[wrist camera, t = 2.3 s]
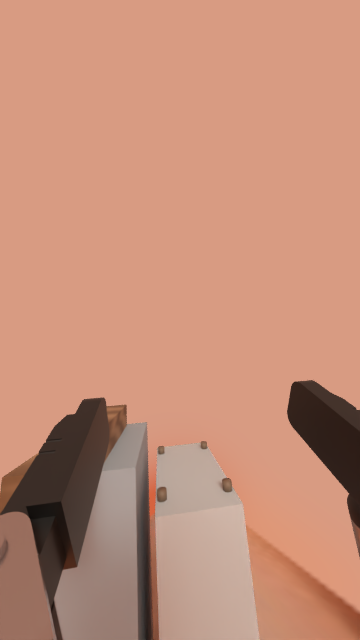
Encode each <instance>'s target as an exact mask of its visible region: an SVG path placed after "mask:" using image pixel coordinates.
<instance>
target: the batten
mask: <svg viewBox="0 0 360 640" xmlns="http://www.w3.org/2000/svg"><path fill="white" fill-rule="evenodd" d="M106 408H107V415H108V423H109V444H108V449H107V453H106V457H105V461H106V459H107V457H108V456H109V454H110V452H111V451H112V449H113V447H114V446H115V444H116V442H117V441H118V439H119V437H120V436H121V434H122V432H123V431H124V429H125V427H126V426H127V424H126V423H127V422H126V421H127V420H126V419H127V418H126V417H127V416H126V405H118V406H107V407H106ZM38 454H39V453H38ZM38 454H36V455H35V456H33V457H32V458H30V459H29V460H28V461H26V462H24V463H23V464H21V465H20V466H19V467H17V468H16V469H14V470H13V471H11V472H10V473H8V474H7V475H5V476H4V477H3V478H2V484H1V492H0V513H1V512H2V510H3V509H4V507H5V506H6V504H7V502H8V501H9V499H10V498H11V496H12V494H13V493H14V491H15V489H16V488H17V486H18V485H19V483H20V481H21V480H22V478H23V477H24V475H25V473H26V472H27V470H28V468H29V467H30V465H31V464H32V462H33V460H34V459H35V457H36V456H37V455H38ZM105 461H104V462H105Z"/></svg>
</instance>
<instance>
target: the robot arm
mask: <svg viewBox="0 0 360 640" xmlns="http://www.w3.org/2000/svg"><path fill="white" fill-rule="evenodd" d="M287 414H288V419H289V421H290V423H291V425H292V427H293V428H294V429H295V430H296V431H297V433H298V434H299V435H300V436H301V437H302V438H303V440H304V441H305V442H306V443H307V444H308V446H309V447H310V448H311V449H312V450H313V451H314V453H315V454H316V455H317V456H318V457H319V459H320V460H321V461H322V462H323V463H324V464H325V466H326V467H327V468H328V469H329V470H330V471H331V473H332V474H333V475H334V476H335V477H336V479H337V480H338V481H339V482H340V483H341V484H342V485H343V487H344V488H345V489H346V490H347V491H348V493H349V495H348V498H347V504H348V509H349V514H350V517H351V522H352V526H353V531H354V535H355V539H356V543H357V548H358V552H359V556H360V410H356V408H355V407H354V406H353V405H351V404H350V403H348V402H347V401H346V400H344V399H343V398H341V397H339V396H336V395H334V394H332V393H330V392H329V391H328V390H326V389H325V388H323V387H322V386H321V385H319V384H318V383H316V382H315V381H312V380H309V381H298V382H294V383H293V384H292V386H291V392H290V398H289V404H288V410H287ZM108 444H109V423H108V415H107V408H106V401H105V399H104V398H94V399H84V400H83V401H82V402H81V404H80V406H79V408H78V410H77V412H76V413H75V414H73V415H67V416H66V417H64V418H63V419H62V420H61V421H60V422H59V423H58V424H57V425H56V426H55V427H54V428H53V430H52V431H51V433H50V435H49V436H48V438H47V440H46V443H44V444H43V446H42V448H41V449H40V451H39V454H38V455H37V456H36V457H35V459H34V460H33V462H32V464H31V465H30V467H29V468H28V470H27V472H26V473H25V475H24V477H23V478H22V480H21V481H20V483H19V485H18V486H17V488H16V489H15V491H14V493H13V494H12V496H11V498H10V499H9V501H8V502H7V504H6V506H5V507H4V509H3V510H2V512H1V513H0V640H64V638H63V633H62V629H61V624H60V620H59V615H58V611H57V606H56V602H55V594H56V591H57V587H58V584H59V581H60V577H61V574H62V571H63V570H65V569H71V568H76V567H77V566H78V562H79V558H80V554H81V550H82V546H83V543H84V539H85V535H86V531H87V527H88V523H89V519H90V515H91V511H92V508H93V504H94V500H95V496H96V492H97V488H98V484H99V480H100V476H101V472H102V469H103V465H104V461H105V457H106V453H107V449H108Z"/></svg>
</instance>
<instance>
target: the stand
mask: <svg viewBox="0 0 360 640" xmlns="http://www.w3.org/2000/svg"><path fill="white" fill-rule="evenodd" d="M156 476H157V477H156V504H155V506H156V507H155V531H156V561H157V591H158V621H159V640H260V638H259V630H258V622H257V614H256V606H255V598H254V590H253V581H252V573H251V565H250V557H249V549H248V541H247V533H246V525H245V517H244V508H243V503H242V502H241V500H240V498H239V497H238V495H237V493H236V492H235V490H234V489H233V487H232V483H231V480H230V479H229V478H227V477H226V476H225V474H224V472H223V471H222V469H221V468H220V466H219V464H218V463H217V461H216V460H215V458H214V456H213V455H212V453H211V451H210V450H209V449H208V447H207V442H205V441H202V442H201V443H194V444H185V445H177V446H169V447H164V446H160V447H158V448H157V475H156ZM148 480H149V479H148V447H147V423H146V422H145V423H135V424H127V426H126V427H125V429H124V431H123V432H122V434H121V436H120V437H119V439H118V441H117V442H116V444H115V446H114V447H113V449H112V451H111V452H110V454H109V456H108V457H107V459H106V461H105V462H104V465H103V469H102V472H101V476H100V480H99V484H98V488H97V492H96V496H95V500H94V504H93V508H92V511H91V515H90V519H89V523H88V527H87V531H86V535H85V539H84V543H83V546H82V550H81V554H80V558H79V562H78V566H77V567H76V568H71V569H65V570H63V571H62V574H61V577H60V581H59V584H58V587H57V591H56V594H55V602H56V606H57V611H58V615H59V620H60V624H61V629H62V633H63V638H64V640H153V622H152V586H151V551H150V515H149V481H148Z"/></svg>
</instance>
